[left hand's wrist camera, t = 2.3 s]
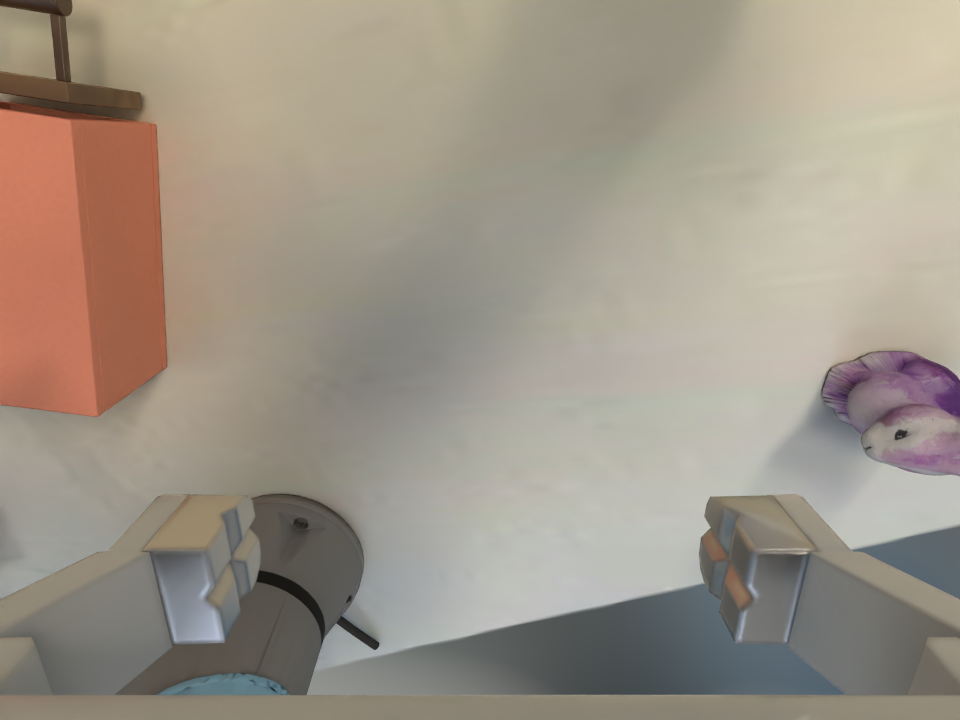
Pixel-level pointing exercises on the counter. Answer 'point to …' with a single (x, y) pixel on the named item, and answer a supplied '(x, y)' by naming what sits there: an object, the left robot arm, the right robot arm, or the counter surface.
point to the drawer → (61, 67)
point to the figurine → (900, 410)
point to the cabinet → (78, 259)
